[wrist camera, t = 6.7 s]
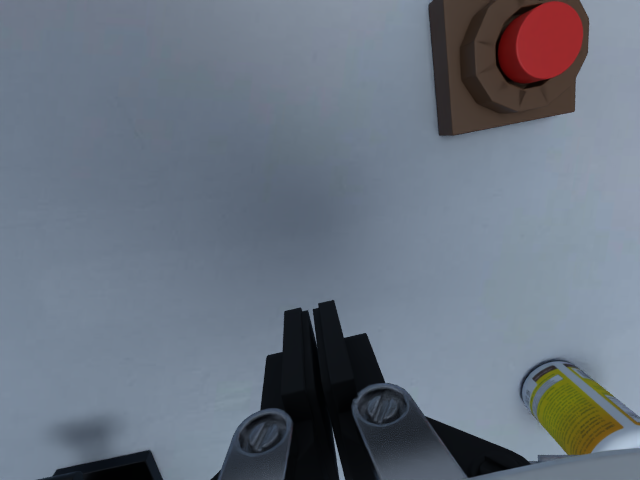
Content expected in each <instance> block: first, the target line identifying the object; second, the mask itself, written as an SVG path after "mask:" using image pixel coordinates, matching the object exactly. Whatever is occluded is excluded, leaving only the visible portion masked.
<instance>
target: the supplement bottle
mask: <svg viewBox="0 0 640 480" xmlns="http://www.w3.org/2000/svg"><path fill="white" fill-rule="evenodd" d="M522 397H523V401H524V404H525V405H526V407H527V408H528V410H529V411H530V412H531V413H532V414H533V415H534V417H535V418H536V419H537V420H538V421H539V422H540V423H541V425H542V426H543V427H544V428H545V429H546V430H547V431H548V433H549V434H550V435H551V436H552V437H553V438H554V439H555V441H556V442H557V443H558V444H559V445H560V446H561V447H562V449H563V450H564V451H565V452H566V453H567V454H568V455H584V454H590V453H595V452H601V451H608V450H620V449H631V448H640V417H639V416H638V415H636V414H635V413H634V412H633V411H631V410H630V409H629V408H628V407H626V406H625V405H624V404H623V403H621V402H620V401H619V400H618V399H616V398H615V397H614V396H613V395H612V394H610V393H609V392H608V391H606V390H605V389H604V388H603V387H602V386H600V385H599V384H598V383H596V382H595V381H594V380H593V379H591V378H590V377H589V376H588V375H586V374H585V373H584V372H583V371H581V370H580V369H579V368H578V367H576V366H574V365H573V364H570V363H567V362H562V361H555V362H549V363H546V364H544V365H541V366H540V367H538V368H536V369H535V370H534V371H533V372H531V373H530V375H529V376H528V377H527V379H526V380H525V383H524V385H523V389H522Z"/></svg>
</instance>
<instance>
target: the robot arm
mask: <svg viewBox="0 0 640 480" xmlns="http://www.w3.org/2000/svg"><path fill="white" fill-rule="evenodd" d="M318 306H319V308H316V309H313V315H314V324H315V332H316V340H317V345H316V341H315V336H314V332H313V328H312V324H311V320H310V316H309V312H308V310H307V311H303V312H302V309H301V308H296V309H292V310H287V311H285V312H284V334H283V352H280V353H276V354H271V355H268V356H267V358H266V366H265V375H264V383H263V392H262V401H261V409H260V411H258V412H256V413H254V414H252V415H250V416H249V417H248V418H246V419H245V420H244V421H243V422H242V423H241V424H240V425H239V426H238V428H237V430H236V431H235V433H234V435H233V438H232V441H231V444H230V446H229V449H228V452H227V455H226V457H225V460H224V463H223V466H222V469H221V470H220V471H219V472H218V473H217V474H216V475H215V476H214V477H213V478H212V479H211V480H339V474H338V467H337V460H336V452H335V445H334V438H333V432H334V436H335V440H336V444H337V448H338V452H339V456H340V460H341V464H342V468H343V472H344V476H345V480H640V448H631V449H620V450H608V451H601V452H595V453H590V454H584V455H538V461H527V460H526V459H525V458H524V457H522V456H520V455H518V454H516V453H515V452H513V451H511V450H508V449H506V448H503V447H501V446H498V445H496V444H493V443H491V442H488V441H486V440H483V439H481V438H478V437H476V436H473V435H471V434H468V433H466V432H463V431H461V430H458V429H456V428H453V427H451V426H448V425H446V424H443V423H441V422H438V421H436V420H433V419H431V418H428V417H426V416H424V414H423V413H422V411H421V410H420V409H419V407H418V406H417V404H416V403H415V401H414V400H413V399H412V397H411V396H410V394H409V393H408V392H407V391H406V390H405V389H403V388H401V387H399V386H398V385H394V384H390V383H385V381H384V378H383V376H382V373H381V370H380V368H379V365H378V363H377V360H376V357H375V355H374V352H373V349H372V347H371V344H370V341H369V339H368V336H367V334H366V333H364V334H359V335H355V336H350V337H346V338H344V337H343V333H342V329H341V325H340V322H339V318H338V314H337V310H336V306H335V302H334V300H332V301H327V302H323V303H318ZM332 428H333V431H332Z"/></svg>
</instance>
